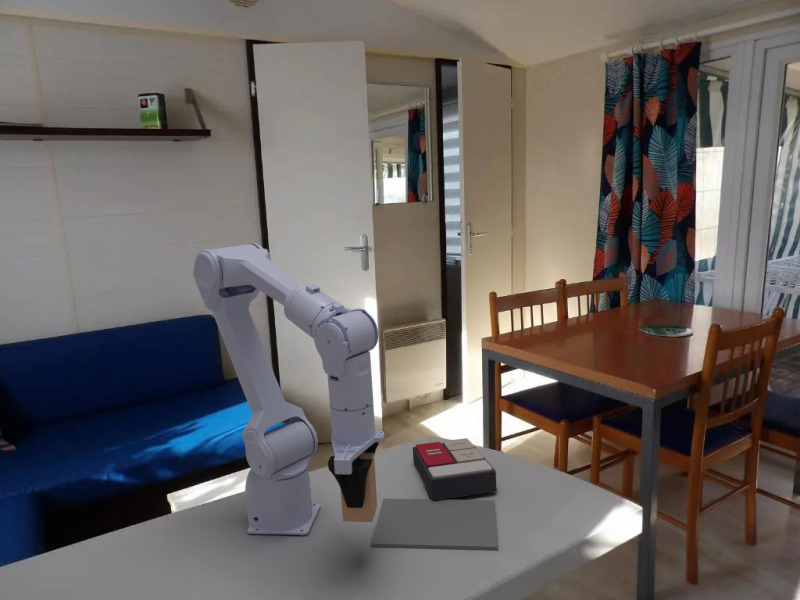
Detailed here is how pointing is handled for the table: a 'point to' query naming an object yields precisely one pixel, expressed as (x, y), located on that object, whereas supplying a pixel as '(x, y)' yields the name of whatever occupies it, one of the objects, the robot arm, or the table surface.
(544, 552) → the table surface
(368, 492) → the block
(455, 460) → the calculator
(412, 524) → the mat
